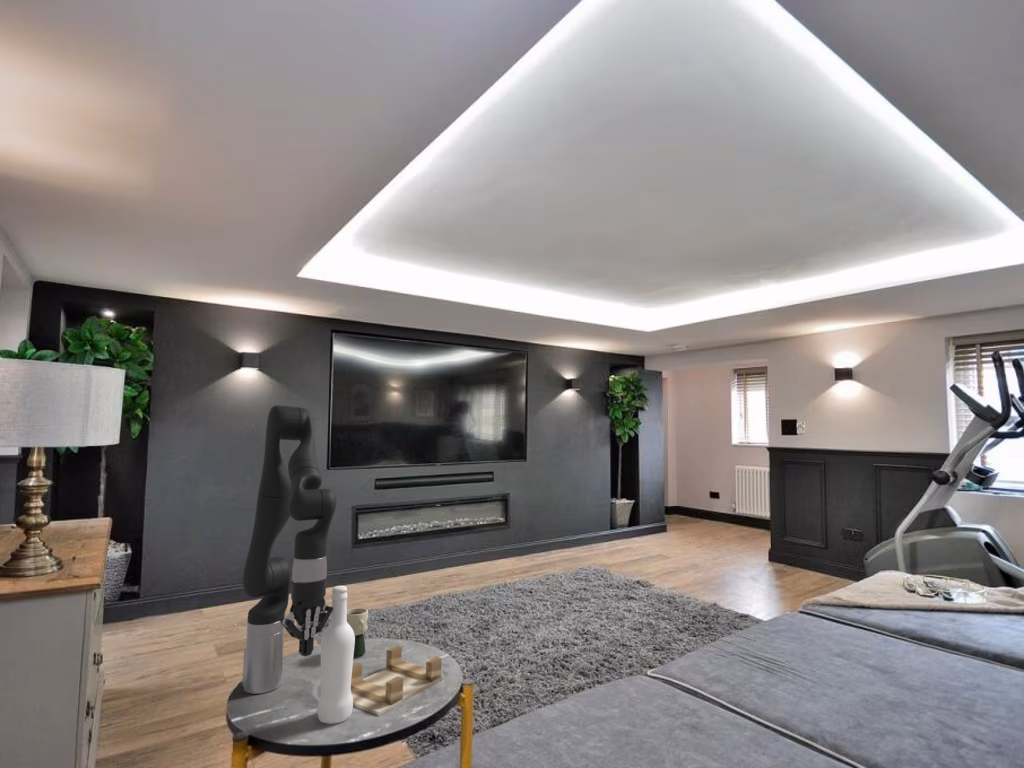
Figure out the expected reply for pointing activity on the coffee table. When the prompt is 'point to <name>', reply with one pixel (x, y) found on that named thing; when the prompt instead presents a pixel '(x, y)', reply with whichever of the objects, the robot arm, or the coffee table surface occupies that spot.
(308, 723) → the coffee table surface
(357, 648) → the character mug
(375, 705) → the bottle cradle
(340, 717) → the bottle
